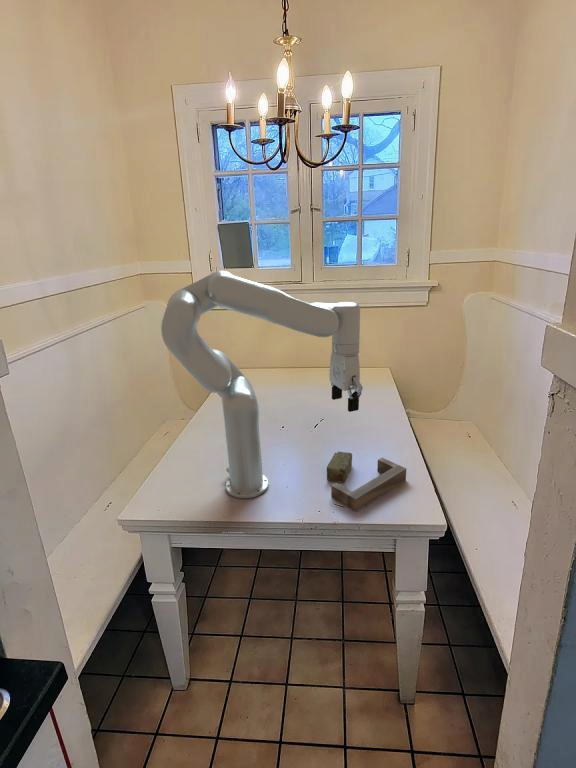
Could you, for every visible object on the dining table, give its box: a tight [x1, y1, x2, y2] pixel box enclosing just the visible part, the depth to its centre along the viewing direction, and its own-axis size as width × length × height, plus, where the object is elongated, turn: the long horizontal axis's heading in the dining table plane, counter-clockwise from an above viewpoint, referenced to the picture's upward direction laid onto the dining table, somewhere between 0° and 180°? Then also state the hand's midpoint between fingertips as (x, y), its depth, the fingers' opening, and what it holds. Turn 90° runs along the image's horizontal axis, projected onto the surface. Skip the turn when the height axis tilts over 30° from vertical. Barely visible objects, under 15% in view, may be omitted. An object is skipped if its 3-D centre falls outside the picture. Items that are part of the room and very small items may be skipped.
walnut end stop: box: [330, 457, 407, 513], centre depth 130 cm, size 9×22×4 cm, turn 130°
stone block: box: [326, 451, 353, 484], centre depth 138 cm, size 6×12×5 cm, turn 160°
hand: (344, 404), depth 131 cm, fingers open, 9 cm apart
